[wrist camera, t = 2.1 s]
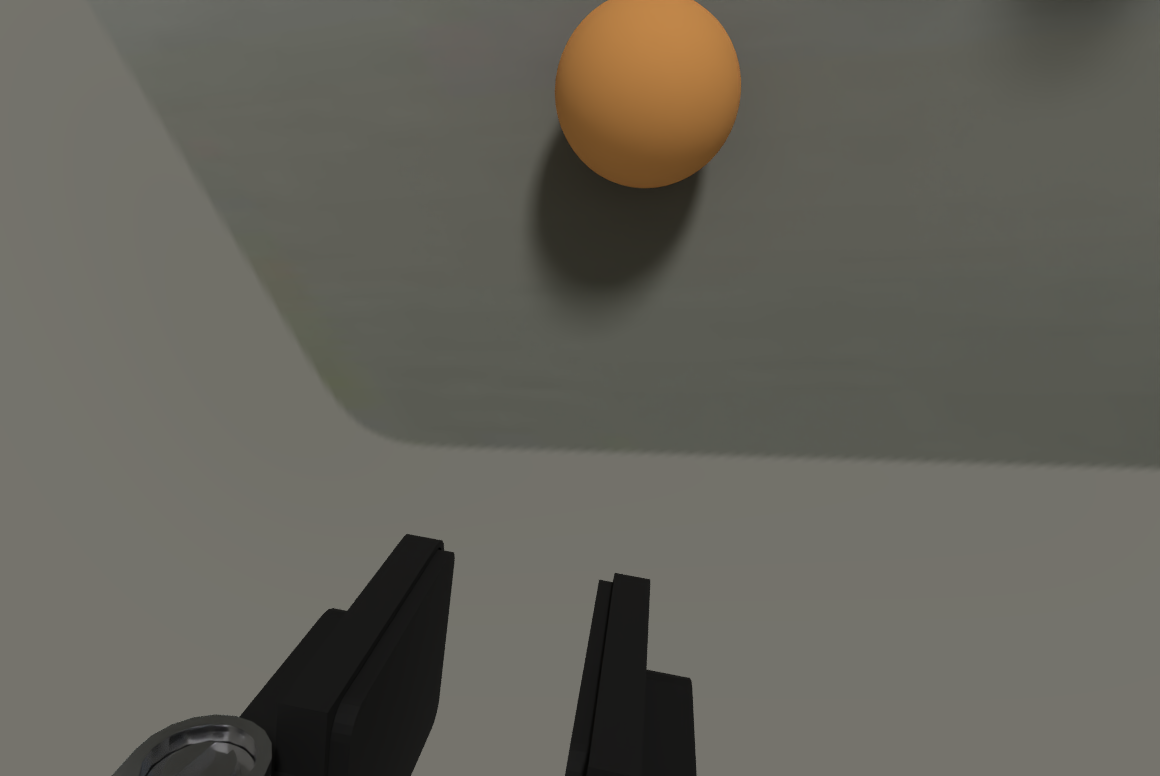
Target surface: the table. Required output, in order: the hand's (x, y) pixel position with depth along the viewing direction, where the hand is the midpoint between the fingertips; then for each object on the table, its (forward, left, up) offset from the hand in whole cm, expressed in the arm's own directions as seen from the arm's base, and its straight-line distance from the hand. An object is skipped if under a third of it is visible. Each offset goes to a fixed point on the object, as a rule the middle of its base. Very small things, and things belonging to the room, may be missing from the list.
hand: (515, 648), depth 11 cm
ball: (0, -9, -14) cm, 17 cm away
